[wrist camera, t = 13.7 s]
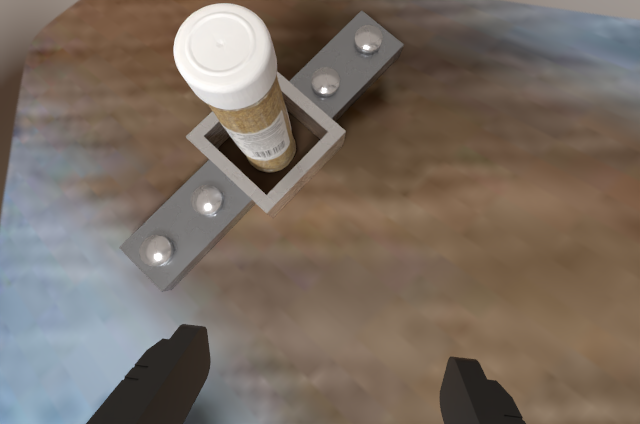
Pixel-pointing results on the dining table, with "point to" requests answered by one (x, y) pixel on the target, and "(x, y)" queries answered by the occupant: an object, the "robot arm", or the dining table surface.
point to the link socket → (331, 140)
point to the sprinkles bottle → (238, 80)
